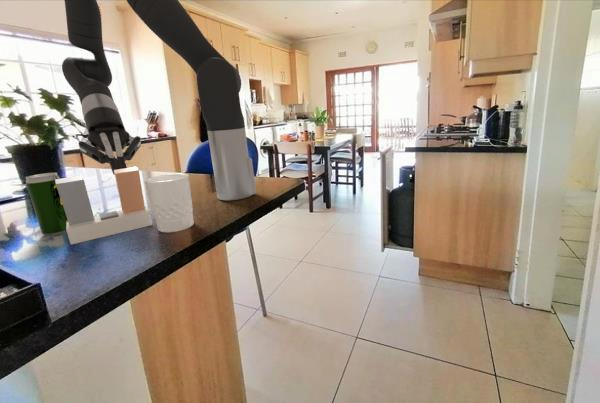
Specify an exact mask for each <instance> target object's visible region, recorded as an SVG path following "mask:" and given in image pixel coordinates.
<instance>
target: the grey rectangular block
mask: <svg viewBox="0 0 600 403" xmlns="http://www.w3.org/2000/svg"><path fill="white" fill-rule="evenodd" d="M55 182H56V186H57V189H58V192H59V195H60V198H61V201H62V204H63V207H64V210H65V213H66V216H67V219H68V222H69V225H73V224H78V223H83V222H87V221H92V220H95V219H94V213H93V209H92V206H91V201H90V198H89V194H88V190H87V187H86V183H85V180H84V175H77V176H69V177H64V178H60V179H55Z"/></svg>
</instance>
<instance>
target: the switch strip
mask: <svg viewBox="0 0 600 403" xmlns="http://www.w3.org/2000/svg"><path fill="white" fill-rule="evenodd" d="M93 216H94V215H93ZM94 219H95V220H92V221H87V222H83V223H78V224H73V225H69V222H67V224H66V230H67V233H66V234H67V237H68V241H69V244H70V245H76V244H79V243H84V242H87V241H92V240H97V239H100V238H101V239H102V238H104V237H108V236H112V235H116V234H121V233H124V232H129V231H133V230H138V229H141V228H145V227H150V226H153V220H152V215H151V211H150V209H149V208H147V207H146V206H145V209H143V210H138V211H133V212H129V213H123V211H122V210H118V211H117V210H113V211H109V212H104V213H99V214H98V215H95V216H94Z"/></svg>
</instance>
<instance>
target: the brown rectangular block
mask: <svg viewBox="0 0 600 403" xmlns="http://www.w3.org/2000/svg"><path fill="white" fill-rule="evenodd" d="M114 174H115V175H114ZM114 174H113V175H114V178H115V182H116V187H117V192H118V193H117V194H118V198H119V202H120V207H121V211H123V213H129V212H133V211H138V210H143V209H145V207H146V206H145V199H144V195H143V188H142V182H141V177H140V170H139V168H138V167H137V166H133V167H127V168H124V169H117V170H114Z"/></svg>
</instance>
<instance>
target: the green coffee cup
mask: <svg viewBox="0 0 600 403" xmlns="http://www.w3.org/2000/svg"><path fill="white" fill-rule="evenodd" d="M25 179H26V180H25V185H26V188H27V192H28V194H29V197H30V199H31V200H30V201H31V203H32V206H33V211H34V213H35V216H36V218H37V223H38V225H39V228H40V232H41V234H42V235H43V236H44V237H45V238H46V237H48V238H50V237H52V238H53V237H59V236H63V235H65V234H67V230H66V224H67V222H68V219H67V216H66V213H65V210H64V207H63V204H62V201H61V198H60V195H59V192H58V189H57V186H56V182H55V179H61V177H60V176H59V175H58V172H46V173H39V174H33V175H29V176H25Z"/></svg>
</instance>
